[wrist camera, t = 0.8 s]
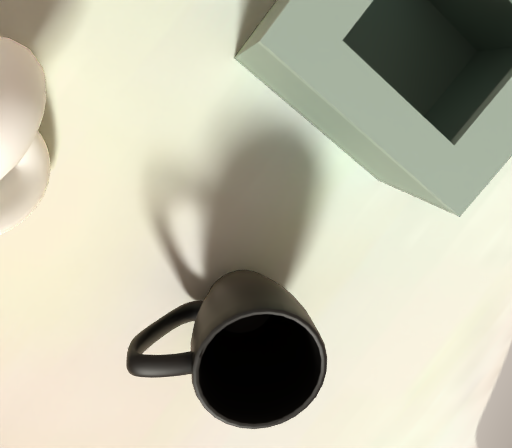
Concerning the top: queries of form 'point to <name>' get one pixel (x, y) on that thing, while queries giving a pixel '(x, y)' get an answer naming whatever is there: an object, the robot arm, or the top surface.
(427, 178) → the box
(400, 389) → the top surface
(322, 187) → the top surface
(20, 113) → the white knot sculpture
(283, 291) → the mug
